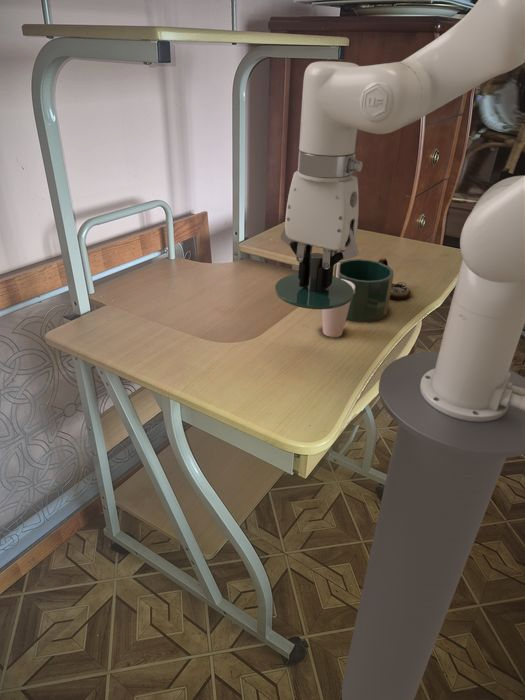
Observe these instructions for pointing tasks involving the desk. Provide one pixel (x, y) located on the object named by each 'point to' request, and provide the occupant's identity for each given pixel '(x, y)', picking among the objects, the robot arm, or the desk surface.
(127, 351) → the desk surface
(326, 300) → the lid
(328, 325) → the smoothie
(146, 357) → the desk surface
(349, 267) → the pot
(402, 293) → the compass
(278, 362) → the desk surface
